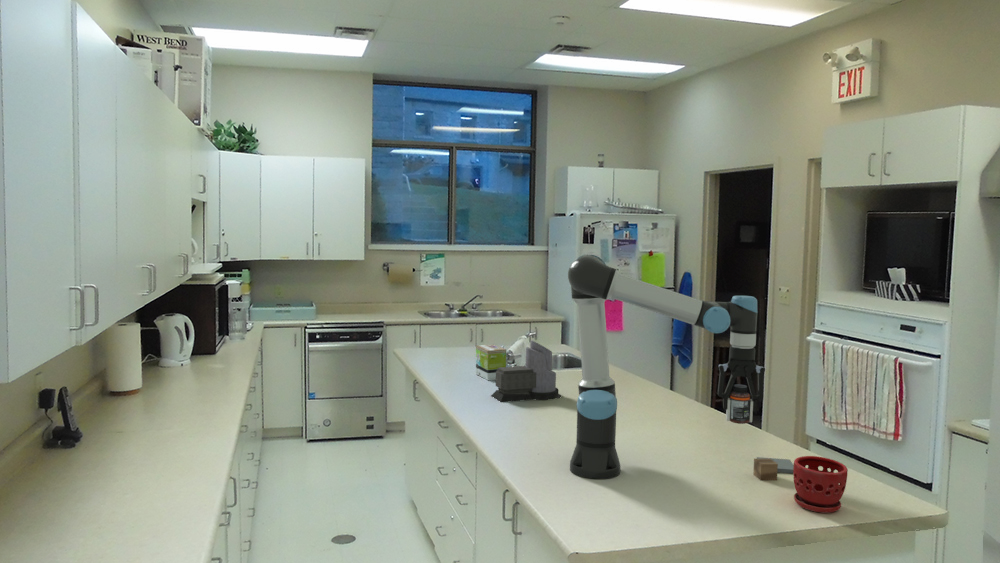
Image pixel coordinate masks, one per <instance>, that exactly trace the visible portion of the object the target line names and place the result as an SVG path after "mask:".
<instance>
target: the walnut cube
mask: <svg viewBox="0 0 1000 563" xmlns="http://www.w3.org/2000/svg"><path fill="white" fill-rule="evenodd" d="M777 470H778V464H777V463H776V462H774V461H773V460H772V459H757V458H753V476H755V478H757V480H759V481H778V472H777Z"/></svg>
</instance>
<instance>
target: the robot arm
mask: <svg viewBox="0 0 1000 563" xmlns="http://www.w3.org/2000/svg"><path fill="white" fill-rule="evenodd" d="M567 280H568V283H569V284H570V291H571V300H573V302H575V303H576V306H577V307H576V308H577V320H578V331H579V332H578V335H579V347H580V359H581V360H580V362H581V375H582V376H581V380H580V381H578V384H577V386H578V397H577V400H576V409H577V410H576V412H577V414H576V441H575V442H576V444H575V447H574V450H573V453H572V456H571V459H570V461H569V462H570V463H569V470H570V472H571V473H572V474H573V475H576V476H579V477H582V478H585V479H586V478H587V479H595V480H596V479H597V480H600V479H605V480H607V479H612V478H615V477H617V476H620V475H621V474H620V473H621V462H620V458H619V455H618V452H617V448H616V435H617V434H616V433H617V431H616V430H617V428H616V427H617V410H618V409H617V408H618V399H617V395H616V394H617V392H616V382H615V380H614V379H613V378H611V376H610V364H609V352H608V337H607V321H606V308H605V307H606V306H605V302H606V301H608V300H610V299H614V300H617V301H620V302H622V303H626V304H629V305H632V306H635V307H638V308H641V309H645V310H647V311H650V312H653V313H656V314H660V315H662V316H665V317H669V318H671V319H675V320H678V321H679V322H680V321H681V322H683V323H686V324H690V325H693V326H696V327H699V328H701V329H704V330H706V331H708V332H709V333H713V334H722V333H724V332H725V331H727V330H728V329H729V328H730V334H729V335H730V336H729V337H730V338H729V344H730V347H729V354H728V361H727V362H726V363H723V364H721V363H719V364H718V371H719V377H718V384H717V392H716V394H717V396H718V397H719V398H722V399H723V400H722V407H723V409H724V410H725V411H726V412H725V420H726V421H727V422H731V421H730V402H731V400H730V393H731V392H732V391H733V390H732V389H733V388H734V385H735V381H736V380H737V377H738V378H739V377H743V378H745V379H746V381H747V385H748V386H747V387H748V388H749V392H750V393H749V394H750V412H749V422H748V423H752V422H753V412H756V411H757V406H758V404H757V403H758V401H761V400H764V374H765V371H766V368H765V367H764V366H759V365H758V364H756V348H755V347H756V346H757V345H756V344H757V325H758V324H757V323H758V313H759V311H758V299H757V298H756V297H755V296H751V295H733V296H732V298H731V300H730V301H709V300H708V301H707V300H701V299H698V298H694V297H692V296H689V295H685V294H683V293H679V292H676V291H673V290H670V289H668V288H664V287H661V286H658V285H655V284H652V283H648V282H645V281H642V280H640V279H637V278H633V277H630V276H627V275H625V274H622V273H620V272H619V270H618V269H617V268H614V267H611V266H609V265H607V264H606V263H605V261H604V260H603V258H601V257H599V256H598V255H594V254H583V255H580V256H579V257H577V258H576V259H575V260H574V261H573V262H572V263H571V264H570V266H569V268H568V271H567ZM727 369H729V370H730V372H731V374H730V376H729V380H728V383H727V385H726V387H725V389H724V383H725V374H726V373H725V372H726V371H727ZM754 371H756V373H757V393H756V390H755V386H754V383H753V378H752V375H751V374H752V373H753V372H754ZM724 390H725V391H724Z"/></svg>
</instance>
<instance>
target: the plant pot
mask: <svg viewBox="0 0 1000 563" xmlns="http://www.w3.org/2000/svg"><path fill="white" fill-rule="evenodd" d="M793 465H794V468H793V473H794V474H793V473H792V474H793V484H794V488H795V491H796V493H794V495H793V499H794V501H795V502H796V504H797V505H798V506H799V507H801V508H803V509H806V510H808V511H812V512H816V513H821V514H822V513H823V514H826V513H828V514H829V513H834V512H838V510H840V509H841V507H842V502H841V501H840V500H841V499H842V497H843V495H844V494H845V490H846V487H847V486H846V485H847V480H848V472H849V471H848V469H849V468H847V466H846V465H845V464H843V463H842V462H840V461H838V460H834V459H832V458H831V459H830V458H827V457H822V456H816V455H805V456H798V457H795V459H794V460H793ZM806 466H807V467H806ZM819 467H821V468H822V470H820V469H819ZM828 469H830V471H829V470H828ZM835 471H837V472H835Z"/></svg>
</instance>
